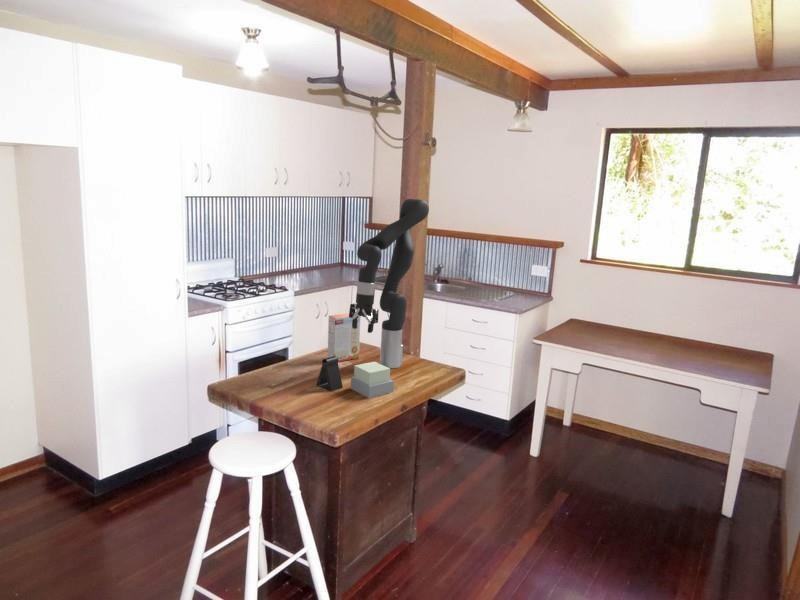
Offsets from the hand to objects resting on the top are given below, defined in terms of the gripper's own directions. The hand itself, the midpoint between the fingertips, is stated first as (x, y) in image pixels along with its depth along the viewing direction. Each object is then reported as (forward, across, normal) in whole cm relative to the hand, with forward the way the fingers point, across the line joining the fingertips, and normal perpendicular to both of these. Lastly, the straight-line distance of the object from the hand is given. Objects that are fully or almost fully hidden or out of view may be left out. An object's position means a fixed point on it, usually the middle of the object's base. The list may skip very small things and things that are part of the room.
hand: (362, 330), depth 233 cm
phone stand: (+20, -3, +20) cm, 29 cm away
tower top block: (+15, -17, +11) cm, 25 cm away
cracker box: (+19, +18, -10) cm, 28 cm away
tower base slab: (+20, -17, +11) cm, 28 cm away
